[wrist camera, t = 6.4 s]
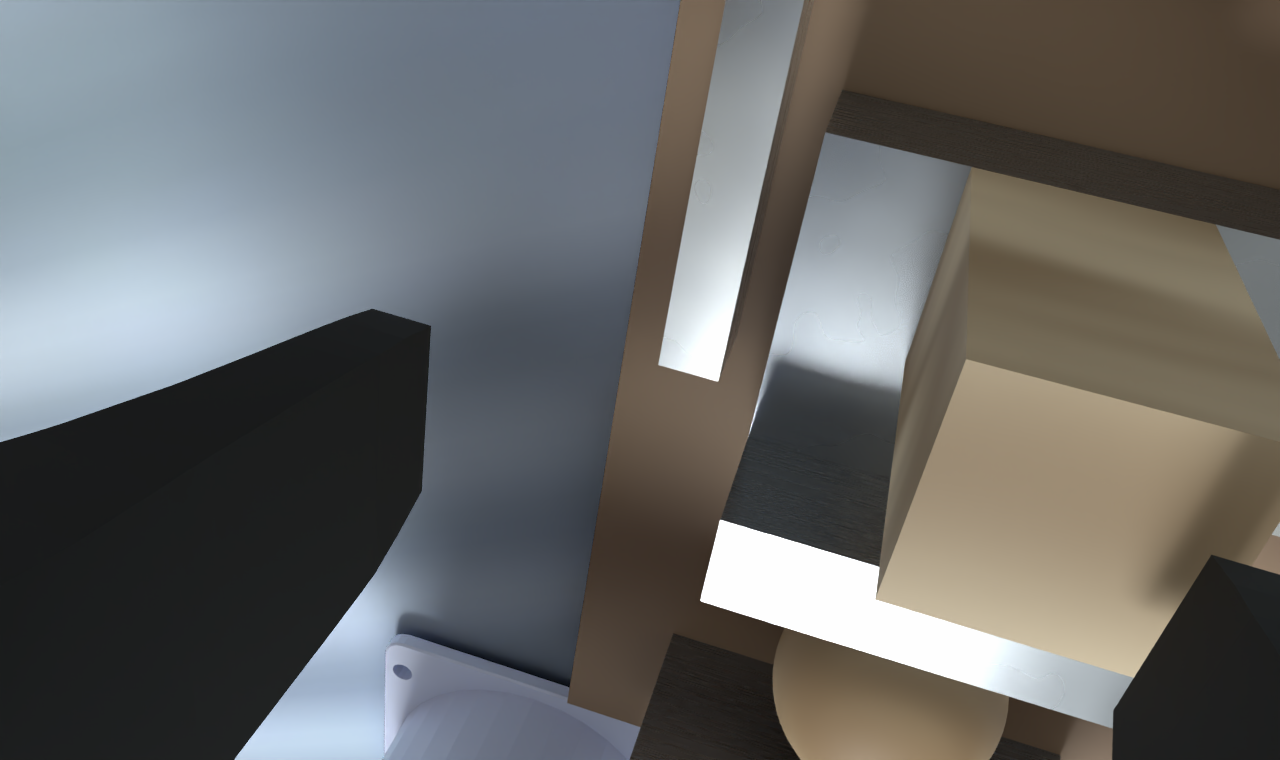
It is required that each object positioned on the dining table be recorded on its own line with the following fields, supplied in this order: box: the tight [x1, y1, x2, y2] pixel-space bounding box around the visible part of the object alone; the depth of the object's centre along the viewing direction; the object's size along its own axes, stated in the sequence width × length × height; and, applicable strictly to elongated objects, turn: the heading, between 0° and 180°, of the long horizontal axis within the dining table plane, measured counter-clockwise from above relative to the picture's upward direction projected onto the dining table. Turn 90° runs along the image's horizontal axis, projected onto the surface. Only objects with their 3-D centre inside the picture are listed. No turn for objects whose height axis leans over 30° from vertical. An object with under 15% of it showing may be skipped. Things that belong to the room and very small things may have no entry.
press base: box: [567, 0, 1280, 760], centre depth 16 cm, size 22×12×6 cm, turn 171°
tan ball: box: [773, 627, 1009, 760], centre depth 18 cm, size 4×4×4 cm
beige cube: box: [700, 90, 1280, 728], centre depth 14 cm, size 7×7×7 cm
